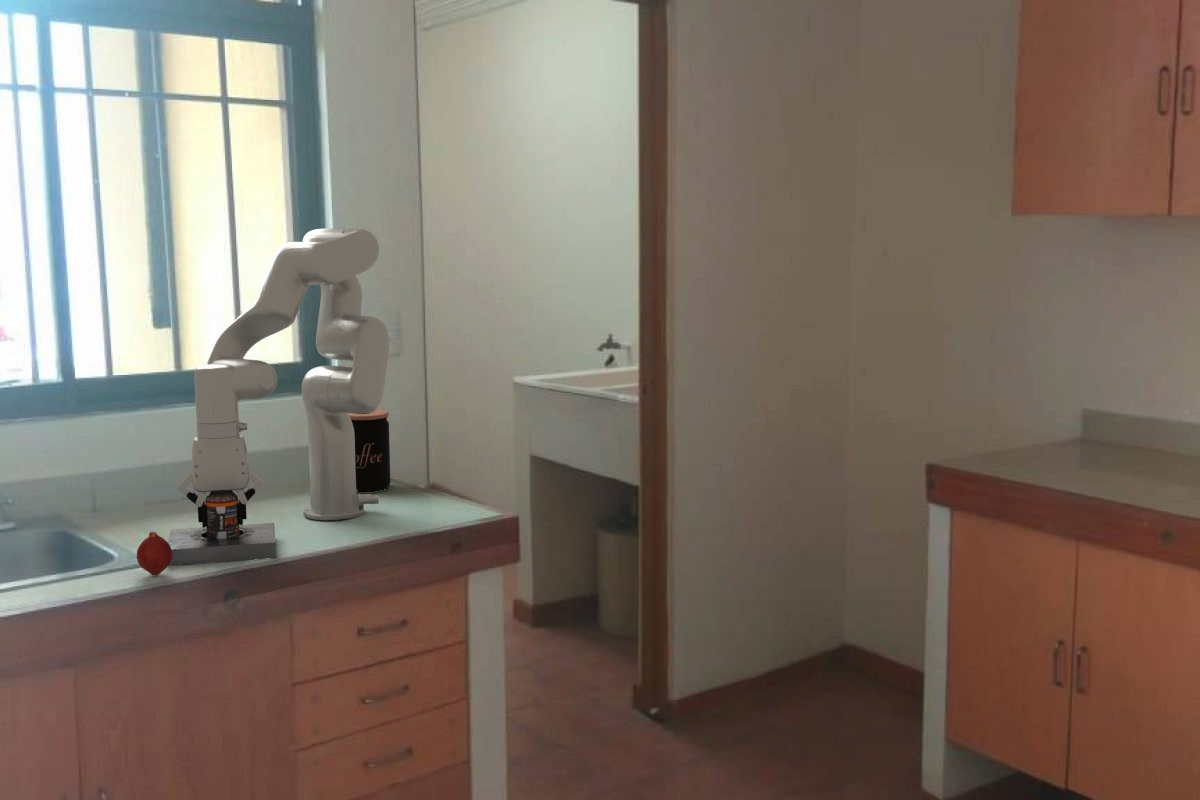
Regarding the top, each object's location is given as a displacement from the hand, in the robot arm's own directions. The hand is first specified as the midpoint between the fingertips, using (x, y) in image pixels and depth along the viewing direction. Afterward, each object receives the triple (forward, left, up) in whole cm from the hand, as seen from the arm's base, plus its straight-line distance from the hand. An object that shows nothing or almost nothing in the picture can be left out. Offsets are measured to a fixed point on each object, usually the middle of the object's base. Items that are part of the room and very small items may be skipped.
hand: (222, 523), depth 223 cm
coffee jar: (-31, -45, -5) cm, 55 cm away
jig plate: (0, +2, -5) cm, 5 cm away
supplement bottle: (0, 0, -4) cm, 4 cm away
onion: (+11, +15, -5) cm, 19 cm away
